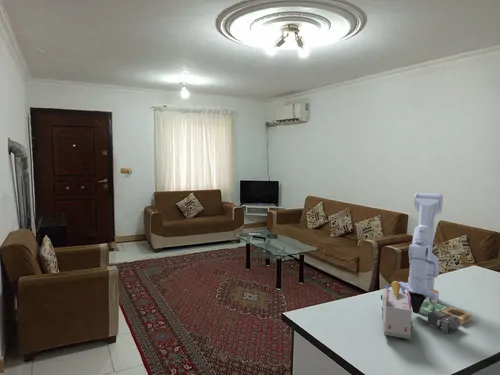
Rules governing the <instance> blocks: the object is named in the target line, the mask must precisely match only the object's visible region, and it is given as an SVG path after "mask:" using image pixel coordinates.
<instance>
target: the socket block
mask: <svg viewBox="0 0 500 375" xmlns="http://www.w3.org/2000/svg"><path fill="white" fill-rule="evenodd" d="M441 313H444V314H446V318H448V317H451V315H454V316H457V317H459V322H460V326H462V325H465V324H466V323H468V322H469V321H471V319H472V314H471V313H469V312H467V311H464V310H461V309H458V308H456V307H452V306H449V307H447V309H445V310H443V311H441Z"/></svg>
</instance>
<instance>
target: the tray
mask: <svg viewBox="0 0 500 375" xmlns="http://www.w3.org/2000/svg"><path fill="white" fill-rule="evenodd" d="M447 308H448V307H447V306H446V305H442V304H439V303H437V307H436V311H438V312H441V311H443V310H445V309H447ZM430 312H432V311H429V310H427V300H425V301H424V302H423V303H422V305H421V308H420V311H419V313H418V314H421V315H423V316H426V317H428V313H430Z"/></svg>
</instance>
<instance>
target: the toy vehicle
mask: <svg viewBox="0 0 500 375" xmlns="http://www.w3.org/2000/svg"><path fill="white" fill-rule="evenodd" d="M399 282H400V281H397V280H394V281H392V282H391V284H390V286H389V285H385V287H384V289H383V294H380V300H381V301H382V306H381V311H382V312H381V313H382V314H381V315H382V316H381V317H382V319H383V335H384V336H389V337H390V336H391V337H396V338H402V339H408V340H411V339H412V334H411V329H412V328H413V327H414V324H413V321H412V314H413V310H412V306H411V297H410V294H409V292H408V296H407V291H406V289H405V288H400V287H401V285H400V283H399ZM390 287H391V289H389V288H390ZM400 290H401V291H400Z"/></svg>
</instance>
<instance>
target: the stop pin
mask: <svg viewBox="0 0 500 375" xmlns="http://www.w3.org/2000/svg"><path fill="white" fill-rule="evenodd" d="M428 290H430V291H432V292H434V293H437V294H440V292H439V291H438V290H436V289H434V290H432V289H428ZM437 304H438V300H436V301H435V300H433V299H431V298H429V297H427V310H429V311H434V310H436V307H437Z"/></svg>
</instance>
